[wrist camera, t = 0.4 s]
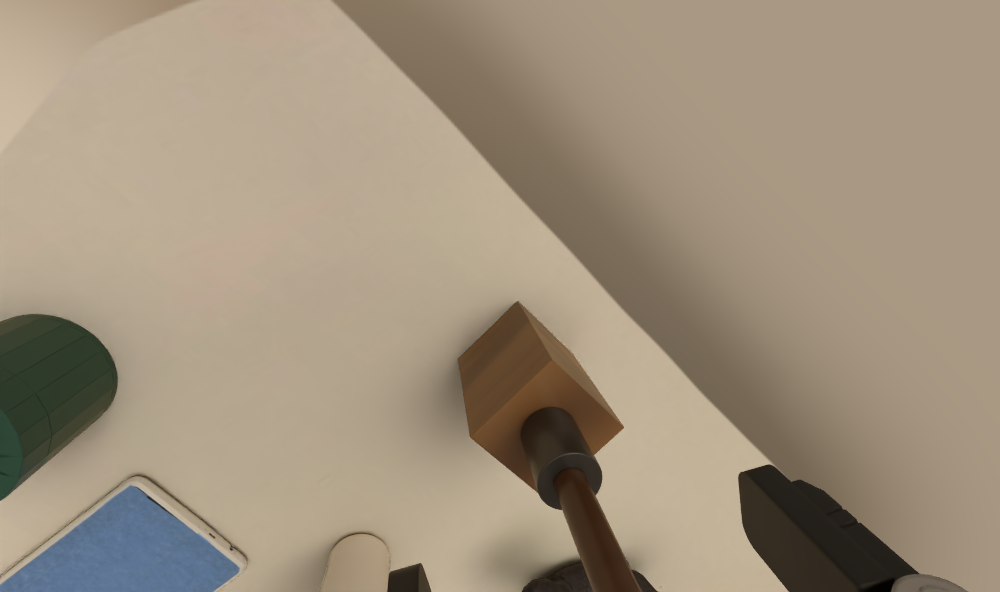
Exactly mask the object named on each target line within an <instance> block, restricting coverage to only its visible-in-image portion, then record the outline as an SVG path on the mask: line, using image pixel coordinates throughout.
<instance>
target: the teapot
mask: <svg viewBox="0 0 1000 592" xmlns="http://www.w3.org/2000/svg"><path fill="white" fill-rule="evenodd" d="M631 571H632V573H633V575H634V577H635V579H636V581H637V583H638V585H639V587H640V589H641V591H642V592H657V591H656V590H655V589H654V588H653V586H652V585H651V584H650V583H649V582H648V581H647V580H646V578H645V577H644V576H643V575H641V574H640V573H638V572H637V571H635V570H631ZM522 592H593V590H592V587H591V584H590V582H589V579H588V576H587V574H586V571H585V569H584V566H583V563H578V564H575V565H572V566H569V567H567V568H564V569H562V570H560V571H559V572H557V573H555V574H554V575H552V576H550V577H549V578H547V579H536V580H532V581H531V582H530V583H528V584H527V585H526V586H525V587H524V589H523V591H522Z"/></svg>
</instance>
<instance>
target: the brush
mask: <svg viewBox="0 0 1000 592" xmlns="http://www.w3.org/2000/svg"><path fill="white" fill-rule="evenodd" d="M521 442H522V445H523V448H524V451H525V454H526V457H527V460H528V463H529V466H530V469H531V473H532V476H533V479H534V482H535V485H536V488H537V491H538V494H539V496H540V498H541V499H542V500H543V501H544V502H545V503H546V504H547V505H548V506H550V507H552V508H555V509H559V510H563V513H564V515H565V518H566V521H567V523H568V526H569V529H570V531H571V534H572V537H573V539H574V542H575V545H576V547H577V550H578V553H579V555H580V558H581V561H582V563H583V566H584V569H585V571H586V574H587V576H588V579H589V582H590V584H591V587H592V590H593V592H642V591H641V589H640V587H639V585H638V583H637V581H636V579H635V577H634V575H633V573H632V571H631V569H630V566H629V564H628V562H627V560H626V558H625V556H624V554H623V552H622V550H621V548H620V546H619V544H618V542H617V540H616V538H615V535H614V533H613V531H612V529H611V527H610V525H609V523H608V521H607V519H606V517H605V515H604V513H603V511H602V509H601V506H600V504H599V502H598V500H597V498H596V496H595V495H596V494H597V493H598V491H599V489H600V487H601V483H602V471H601V468H600V466H599V464H598V462H597V460H596V458H595V456H594V455H593V453H592V451H591V449H590V447H589V445H588V444H587V442H586V440H585V438H584V436H583V434H582V432H581V431H580V429H579V427H578V425H577V423H576V421H575V419H574V418H573V416H572V415H571V414H570V413H568V412H567V411H565V410H563V409H561V408H557V407H547V408H542V409H540V410H538V411H536V412H534V413H533V414H531V415H530V416H529V417H528V418H527V419H526V421H525V422H524V424H523V427H522V430H521Z"/></svg>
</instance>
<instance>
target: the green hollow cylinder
mask: <svg viewBox="0 0 1000 592" xmlns="http://www.w3.org/2000/svg"><path fill="white" fill-rule="evenodd" d="M116 388H117V373H116V368H115V365H114V362H113V360H112V358H111V356H110V354H109V353H108V351H107V349H106V348H105V347H104V346H103V344H102V343H101V342H100V341H99V340H98V339H97V338H96V337H95V336H94V335H92V334H91V333H90V332H88V331H87V330H85V329H84V328H82V327H81V326H79V325H77V324H75V323H73V322H70V321H68V320H65V319H62V318H58V317H54V316H48V315H37V314H31V315H21V316H16V317H13V318H10V319H7V320H4V321H1V322H0V501H1V500H2V499H4V498H5V497H7V496H8V495H9V494H10V493H11V492H12V491H14V490H15V489H16V488H17V487H18V486H19V485H21V484H22V483H23V482H24V481H25V480H27V479H28V478H29V477H30V476H31V475H32V474H34V473H35V472H36V471H37V470H38V469H40V468H41V467H42V466H43V465H44V464H45V463H47V462H48V461H49V460H50V459H51V458H52V457H54V456H55V455H56V454H57V453H58V452H59V451H61V450H62V449H63V448H64V447H65V446H67V445H68V444H69V443H70V442H71V441H72V440H74V439H75V438H76V437H77V436H78V435H79V434H81V433H82V432H83V431H84V430H85V429H86V428H88V427H89V426H90V425H91V424H92V423H93V422H95V421H96V420H97V419H98V418H99V417H100V416H101V415H102V414H103V413H104V412H105V411H106V410H107V408H108V407H109V406H110V404H111V402H112V401H113V399H114V396H115V393H116Z"/></svg>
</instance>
